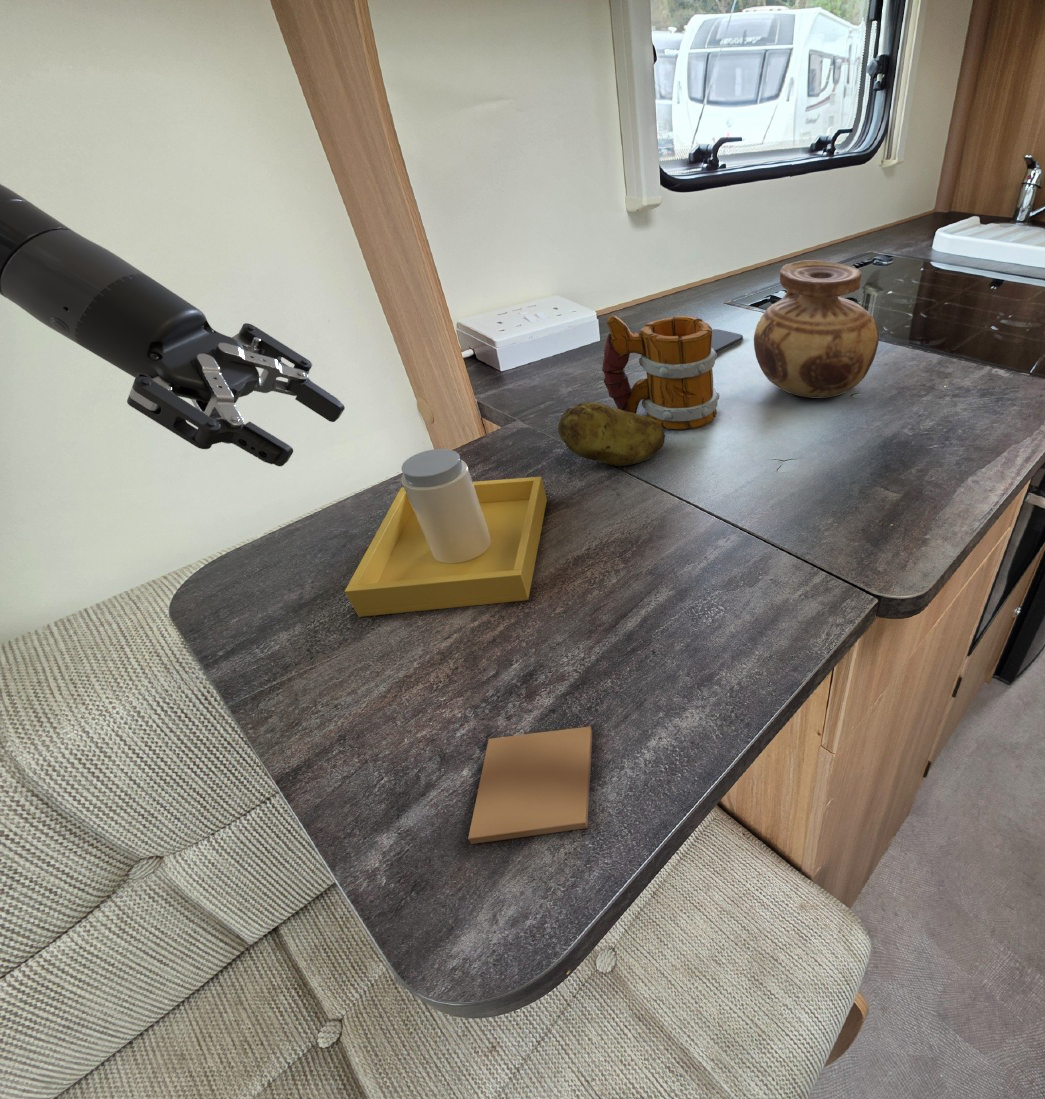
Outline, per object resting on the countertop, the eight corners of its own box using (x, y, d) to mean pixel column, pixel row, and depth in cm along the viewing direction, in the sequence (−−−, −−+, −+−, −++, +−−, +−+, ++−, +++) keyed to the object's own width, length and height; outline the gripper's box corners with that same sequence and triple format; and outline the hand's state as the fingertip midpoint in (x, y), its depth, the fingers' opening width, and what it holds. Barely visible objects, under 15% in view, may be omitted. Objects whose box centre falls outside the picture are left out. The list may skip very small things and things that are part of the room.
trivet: (587, 828, 40) (585, 822, 40) (471, 844, 39) (467, 838, 39) (592, 732, 46) (590, 726, 46) (491, 744, 45) (488, 738, 45)
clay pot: (910, 380, 90) (886, 252, 77) (804, 441, 91) (760, 324, 77) (850, 338, 104) (820, 223, 91) (758, 390, 105) (714, 284, 91)
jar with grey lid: (486, 560, 61) (456, 475, 55) (425, 566, 60) (388, 481, 54) (495, 526, 66) (469, 444, 59) (439, 531, 65) (406, 449, 59)
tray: (528, 600, 58) (520, 574, 56) (358, 617, 56) (344, 591, 54) (547, 499, 71) (541, 476, 69) (411, 511, 70) (400, 487, 68)
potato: (664, 475, 75) (658, 417, 70) (562, 478, 75) (549, 420, 70) (667, 443, 82) (662, 388, 77) (573, 446, 82) (562, 390, 77)
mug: (726, 426, 86) (725, 320, 76) (611, 439, 83) (595, 330, 74) (713, 395, 94) (710, 296, 84) (608, 406, 91) (592, 304, 82)
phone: (745, 335, 113) (697, 359, 103) (745, 339, 113) (698, 364, 104) (714, 328, 116) (664, 350, 106) (714, 332, 117) (665, 355, 107)
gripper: (38, 299, 41) (284, 447, 48) (188, 251, 52) (370, 377, 59) (20, 374, 44) (253, 502, 51) (165, 314, 55) (339, 426, 62)
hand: (315, 435), depth 55 cm, fingers open, 8 cm apart
